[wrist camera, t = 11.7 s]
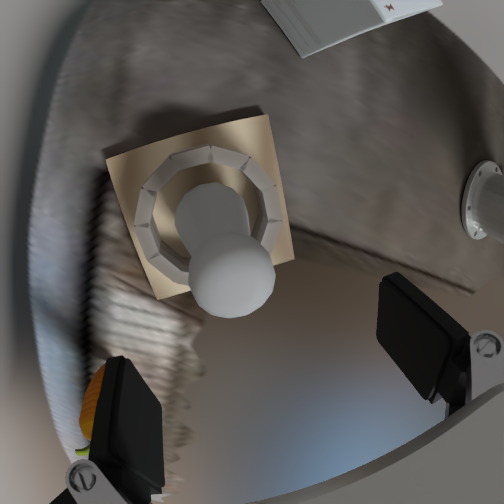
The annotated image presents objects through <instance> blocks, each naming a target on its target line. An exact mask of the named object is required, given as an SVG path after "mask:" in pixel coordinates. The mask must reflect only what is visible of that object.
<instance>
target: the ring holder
mask: <svg viewBox="0 0 504 504" xmlns="http://www.w3.org/2000/svg"><path fill="white" fill-rule="evenodd" d="M106 163H107V167H108V170H109V173H110V176H111V180H112V183H113V186H114V189H115V192H116V195H117V198H118V201H119V204H120V207H121V210H122V213H123V215H124V218H125V221H126V224H127V226H128V229H129V232H130V235H131V237H132V240H133V242H134V245H135V248H136V250H137V253H138V255H139V258H140V260H141V263H142V265H143V268H144V270H145V272H146V275H147V277H148V279H149V282H150V284H151V286H152V289H153V291H154V293H155V296H156V298H157V300H159V299H163V298H166V297H170V296H173V295H177V294H180V293H183V292H187V291H190V290H191V289H190V287H189V285H188V276H189V263H190V259H191V258H192V257H191V255H190V253H189V252H188V250H187V249H186V247H185V245H184V244H183V242H182V240H181V239H180V236H179V234H178V232H177V230H176V227H175V214H176V208H177V206H178V204H179V203H180V201H181V199H182V197H183V196H184V194H185V193H187V192H188V191H190V190H192V189H193V188H195V187H196V186H198V185H201V184H207V183H213V182H217V183H219V184H222V185H225V186H228V187H231V188H233V189H234V190H235V191H236V192H237V193H238V194H239V195H240V196H241V197H242V198H243V199H244V202H245V205H246V209H247V212H248V217H249V226H250V236H251V237H253V238H254V239H255V240H256V241H258V242H259V243H260V244H261V245H262V246H263V247H264V248H265V249H266V250H267V251H268V252H269V254H270V258H271V261H272V265H277V264H280V263H283V262H286V261H290V260H293V259H294V253H293V247H292V240H291V234H290V228H289V223H288V217H287V211H286V205H285V200H284V194H283V189H282V183H281V178H280V172H279V167H278V162H277V157H276V152H275V147H274V142H273V137H272V132H271V127H270V122H269V118H268V114H266V115H260V116H255V117H250V118H245V119H241V120H236V121H231V122H227V123H223V124H218V125H214V126H210V127H206V128H202V129H199V130H195V131H191V132H188V133H184V134H180V135H177V136H174V137H170V138H167V139H164V140H160V141H157V142H154V143H151V144H148V145H145V146H142V147H139V148H136V149H133V150H130V151H127V152H124V153H122V154H119V155H116V156H114V157H111V158H108V159H106Z"/></svg>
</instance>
